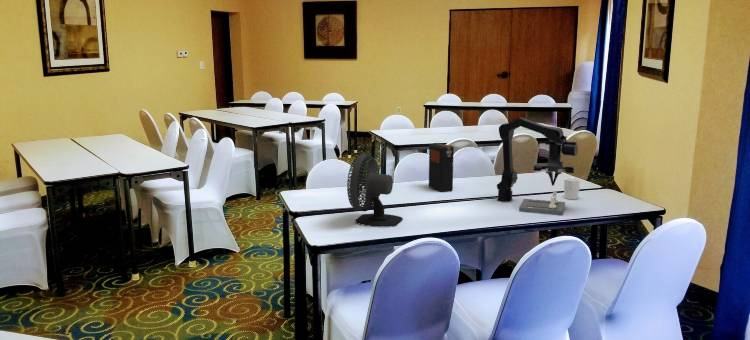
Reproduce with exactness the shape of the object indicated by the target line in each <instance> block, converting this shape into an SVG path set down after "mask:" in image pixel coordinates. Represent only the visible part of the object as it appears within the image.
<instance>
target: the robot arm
mask: <svg viewBox="0 0 750 340" xmlns="http://www.w3.org/2000/svg"><path fill="white" fill-rule="evenodd" d="M520 127H522V128H525V129H527V130H531V131H532V132H535V133H537V134H538V133H539V134H541V135H543V136H544V137H545V138H546V139H548V140H547V141H546V142H545V143H544V145H548V156H547V157H548V159H547V165H544V163H535V164H534V165H533V171H534V172H541V171H542V170H544V171H545V174H547V175H548V177H549V181H550V183H551V186H552V187H553V186H555V184H556V181H557V178H558V176H559V175H562V172H564V171H565V173H566V174H574V173H575V166H574V165H569V164H568V165H567V164H566V165H565V166H564V162H563V161H561V158H562V154H563V156H571V157H577V156H578V153H579V146H578V142H577V141H568V139H567V138H566V136H565V135H564V130H563V129H562V128H560V127H557V126H556V127H555V126H548V125H543V124H541V123H538V122H536V121H533V120H529V119H527V118H525V117H523V116H522V117H518V118H516V119H515V120H512V121H511V122H506V123H502V124H501V125H500V126H499V127H498V133H499V134H498V135H499V136H500V139H501V141H502V156H503V157H502V158H503V159H502V160H503V171H502V173H501V181H500V182H498V183H497V184H496V188H497V191H498V192H497V201H498V202H499V201H500V202H511V201H512V200H513V189H512V188H513V187H514V185H516V183H517V181H518V180H519V179H518V178H519V177H518V171H516V170H515V169H514V163H513V160H514V159H513V158H514V157H513V138H514V134H515V130H516V129H518V128H520Z"/></svg>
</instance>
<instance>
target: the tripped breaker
mask: <svg viewBox="0 0 750 340" xmlns="http://www.w3.org/2000/svg"><path fill="white" fill-rule="evenodd" d="M557 193H558V192H557V191H553V192H552V196H553V197H555V203H557V202H559V200H558V199H557Z"/></svg>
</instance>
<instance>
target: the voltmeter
mask: <svg viewBox="0 0 750 340" xmlns="http://www.w3.org/2000/svg"><path fill="white" fill-rule="evenodd" d="M428 149H429V150H428V187H429V188H432V189H435V190H437V191H439V192H442V193H443V192H452V191H453V190H454V189H453V186H454V185H453V182H454V181H453V180H454V149H455V148H454V146H453V145H449V144H445V143H441V142H434V143H430V144H429V148H428Z"/></svg>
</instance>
